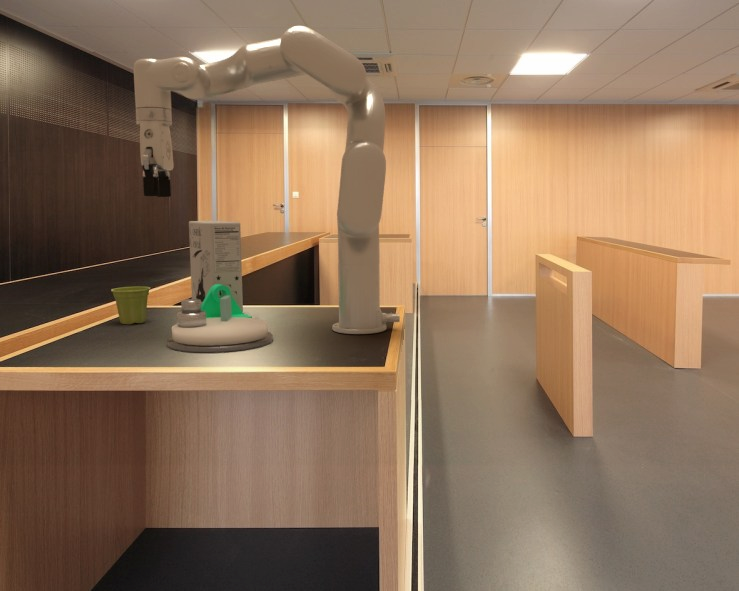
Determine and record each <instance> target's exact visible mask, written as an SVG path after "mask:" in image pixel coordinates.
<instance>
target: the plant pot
mask: <svg viewBox="0 0 739 591" xmlns="http://www.w3.org/2000/svg"><path fill="white" fill-rule="evenodd" d="M150 290H151V287H149V286H123V287H117V288H111V290H110V291H111V293H112V295H113V298H114V299H115V304H116V308H117V314H118V318H119V323H120V324H122V325H132V324H133V325H134V324H135V323H137V324H142V323H146V321H147V311H148V310H147V307H148V297H149V294H150Z"/></svg>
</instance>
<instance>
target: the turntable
mask: <svg viewBox="0 0 739 591" xmlns="http://www.w3.org/2000/svg"><path fill="white" fill-rule="evenodd" d="M220 309H221V317H220V318H206V324H207V325H206V326H202V327H195V328H181V327H178V326H177V323H175V324H173V325H172V327H171V337H172V340H173V341H175V342H177V343H181V344H187V345H202V346H213V345H231V344H240V343H247V342H252V341H256V340H260V339H262V338H265V337H266V336H267V335H268V332H269V323H268V322H267V321H266V320H264V319H261V318H254V317H252V318H244V317H232V315H231V296H223V297H222V298H221V299H220Z"/></svg>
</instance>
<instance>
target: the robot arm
mask: <svg viewBox="0 0 739 591" xmlns="http://www.w3.org/2000/svg"><path fill="white" fill-rule="evenodd" d="M305 75H307V76H309V77H310V78H312V79H313V80H315V81H316V82H318V83H320V84H321V85H323V86H325V87H326V88H328V90H329V93H330V95H331V96H332V97H333V99H335V101H337V102H339V103H340V104H342V105H343V106H344V108H345V109H346V112H347V125H346V126H347V127H346V141H345V149H344V153H343V155H342V158H341V165H340V166H341V167H340V181H339V188H338V189H339V190H338V198H337V199H338V200H337V210H336V217H337V218H336V220H337V222H336V223H337V261H338V263H337V269H338V270H337V273H338V275H337V276H338V322H336V323H334V324H332V331H334V332H336V333H340V334H346V335H368V334H378V333H382V332H384V331H386V330H387V324H386V323H389V322H391V323H400V321H401V320H400V318H401V316H400V313H393V312H392V313H386V312H383V311H382V309H381V307H380V305H381V304H380V303H381V300H380V298H381V297H380V296H381V295H380V294H381V293H380V290H381V289H380V288H381V287H380V283H381V282H380V262H381V261H380V254H381V253H380V222H381V218H382V212H383V204H384V203H383V202H384V191H385V184H386V174H387V160H386V156H385V154H384V147H385V146H384V144H385V131H386V130H385V129H386V106H385V102H384V99H383V96H382V95H381V92H380V91H379V89H378V88H377V86H376V85H375V84H374V83H373V82H372V81H371V80H370V79H369V78H368V77H367V72H366V68H365V65H364V64H363V62H361V60H360V59H359V58H358V57H356V56H355V55H353V53H350V52H349V51H347V50H346V49H344V48H342V46H339V45H337V44H336V43H334V42H333V41H332V40H330V39H328V38H327V37H326V36H324V35H322V34H320V33H319V32H318V31H316V30H314V29H312V28H310V27H308V26H305V25H295V26H292V27H289V28H288V29H287V30H285V31H284V33H283V34H282V35H281V37H278V38H273V39H268V40H262V41H257V42H252V43H247V44H245V45H242V46H241V47H240V48H238V50H236V51H235V53H234V54H232V55H231V56H229V57H227V58H225V59H224V58H223V59H221V60H219V61H218V60H217V61H215V62H209V63H204V64H199V63H197V62H196V61H195V60H194V59H192V58H190V57H187V56H174V57H169V58H163V59H158V58H157V59H156V58H140V59H137V60H136V61H135V62H134V63H133V83H134V100H135V119H136V125H137V126H140V127H139V128H140V129H139V149H140V150H139V151H140V152H139V153H140V163H141V166H142V170H143V171H142V182H143V186H142V187H143V196H144V197H157V198H165V197H166V198H170V197H171V196H172V190H171V189H172V187H171V186H172V185H171V184H172V183H171V174H170V172H171V171H173V169H174V167H175V166H174V165H175V163H174V156H173V155H174V152H173V144H172V136H171V130H170V127H171V126H173V119H172V118H173V117H172V95H171V94H172V93H171V92H176V93H179V94H181V95H183V96H184V97H185V98H187V99H191V100H202V99H207V98H212V97H217V96H224V95H226V94H231V93H234V92H237V91H240V90H244V89H248V88H250V87H253V86H255V85H260V84H264V83H270V82H275V81H279V80H285V79H291V78H295V77H296V78H297V77H300V76H305Z"/></svg>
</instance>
